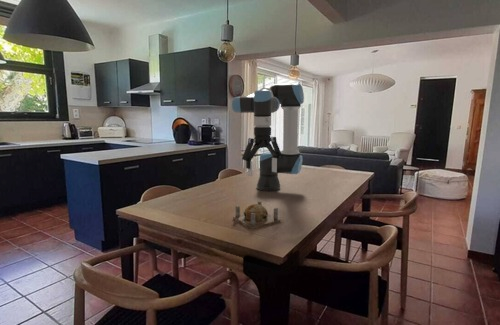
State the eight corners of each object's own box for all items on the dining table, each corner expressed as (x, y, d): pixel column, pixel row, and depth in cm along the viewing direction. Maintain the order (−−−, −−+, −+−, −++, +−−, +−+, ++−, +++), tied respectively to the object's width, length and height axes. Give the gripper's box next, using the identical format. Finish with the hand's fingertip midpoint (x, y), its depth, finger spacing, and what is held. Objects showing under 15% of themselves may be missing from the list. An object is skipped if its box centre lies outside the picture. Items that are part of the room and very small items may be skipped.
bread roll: (255, 231, 119) (263, 216, 116) (237, 217, 123) (244, 202, 120) (267, 223, 127) (274, 209, 124) (249, 210, 131) (256, 196, 128)
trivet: (233, 219, 126) (233, 205, 125) (260, 213, 134) (260, 200, 133) (252, 230, 114) (252, 215, 113) (280, 222, 122) (280, 208, 121)
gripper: (243, 128, 114) (243, 179, 117) (289, 125, 127) (288, 171, 131) (233, 127, 120) (234, 175, 123) (279, 125, 133) (278, 169, 137)
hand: (262, 173), depth 127 cm, fingers open, 13 cm apart
